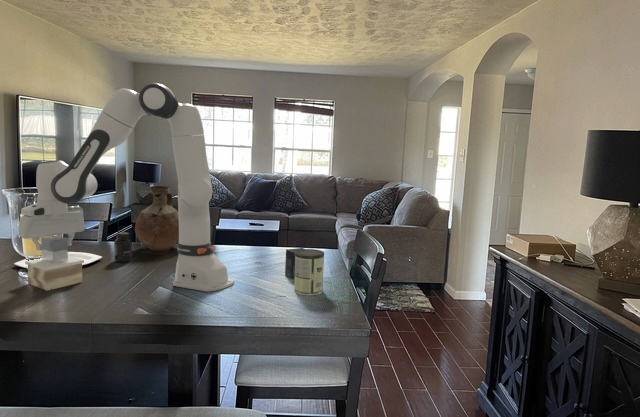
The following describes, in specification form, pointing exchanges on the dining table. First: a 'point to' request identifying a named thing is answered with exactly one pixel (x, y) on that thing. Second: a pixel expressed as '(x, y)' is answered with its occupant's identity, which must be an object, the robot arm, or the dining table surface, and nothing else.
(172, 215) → the jug
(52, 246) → the block
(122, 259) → the supplement bottle
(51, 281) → the stand
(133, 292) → the dining table surface
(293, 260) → the box
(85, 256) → the plate
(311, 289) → the coffee can
